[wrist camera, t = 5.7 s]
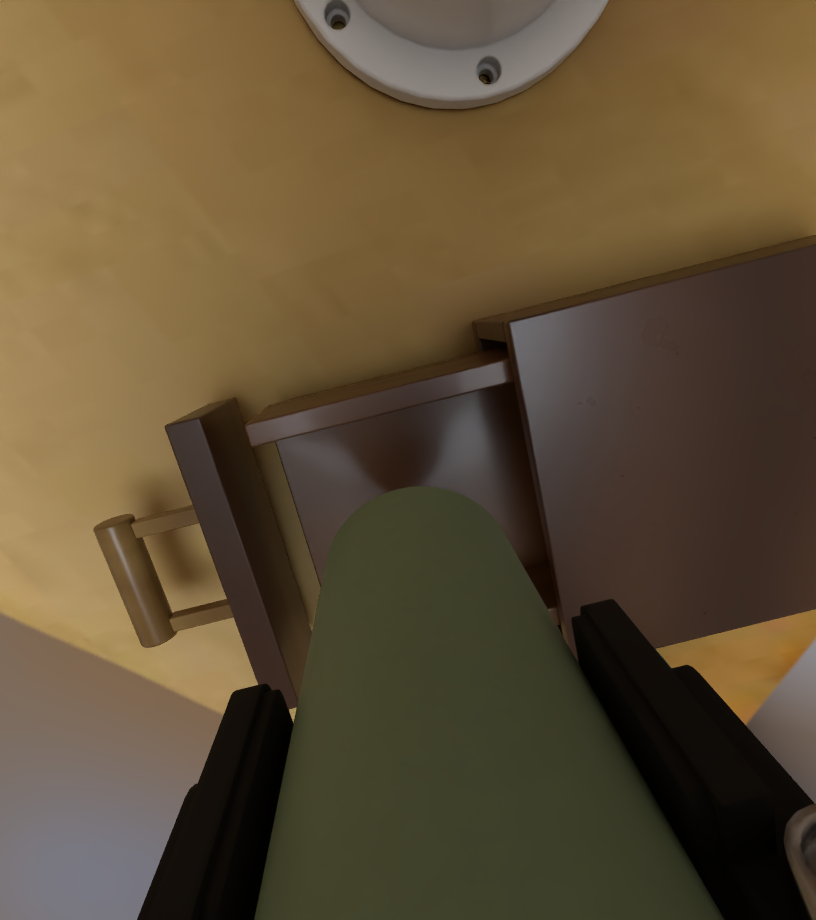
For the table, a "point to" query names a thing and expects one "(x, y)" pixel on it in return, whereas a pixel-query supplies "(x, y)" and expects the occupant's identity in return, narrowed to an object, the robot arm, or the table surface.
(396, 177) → the table surface
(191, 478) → the drawer
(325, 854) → the candle
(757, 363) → the cabinet
